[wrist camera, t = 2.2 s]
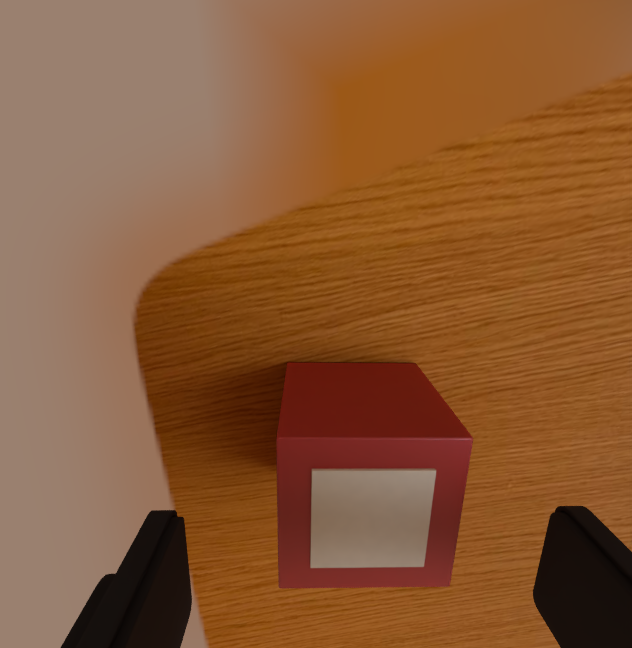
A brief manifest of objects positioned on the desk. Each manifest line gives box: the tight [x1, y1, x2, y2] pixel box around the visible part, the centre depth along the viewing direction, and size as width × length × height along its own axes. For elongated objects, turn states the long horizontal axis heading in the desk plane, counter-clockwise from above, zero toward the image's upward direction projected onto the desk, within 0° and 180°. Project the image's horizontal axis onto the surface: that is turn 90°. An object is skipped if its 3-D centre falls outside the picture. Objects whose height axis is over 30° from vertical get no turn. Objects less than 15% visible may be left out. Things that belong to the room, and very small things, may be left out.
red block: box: [276, 362, 473, 588], centre depth 12 cm, size 5×5×5 cm
